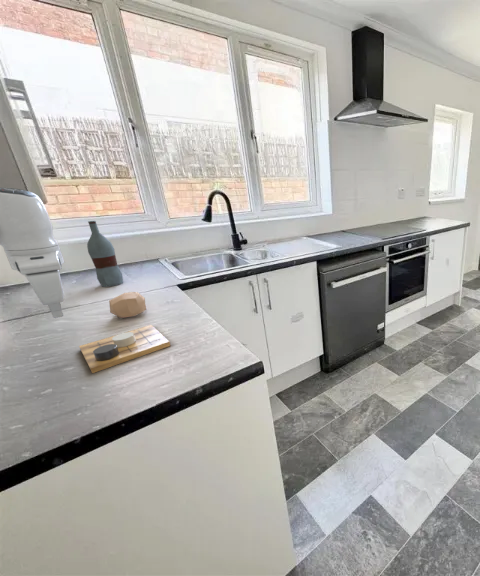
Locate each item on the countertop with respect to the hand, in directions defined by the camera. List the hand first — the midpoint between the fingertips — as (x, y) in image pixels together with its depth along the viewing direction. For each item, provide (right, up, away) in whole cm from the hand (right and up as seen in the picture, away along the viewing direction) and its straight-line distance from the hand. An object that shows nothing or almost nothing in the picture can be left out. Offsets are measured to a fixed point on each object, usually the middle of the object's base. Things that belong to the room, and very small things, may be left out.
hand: (56, 311), depth 79 cm
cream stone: (+6, -11, +13) cm, 18 cm away
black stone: (+7, -13, +7) cm, 16 cm away
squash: (-13, -3, +39) cm, 41 cm away
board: (+6, -12, +14) cm, 19 cm away
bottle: (-48, +8, +70) cm, 85 cm away
